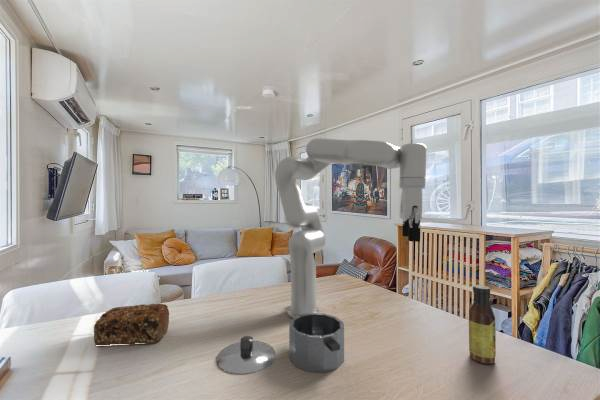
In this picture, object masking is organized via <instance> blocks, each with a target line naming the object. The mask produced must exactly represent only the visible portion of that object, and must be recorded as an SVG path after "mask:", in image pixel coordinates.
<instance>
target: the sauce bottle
mask: <svg viewBox="0 0 600 400" xmlns="http://www.w3.org/2000/svg"><path fill="white" fill-rule="evenodd" d="M472 291H473V303H472V304H471V306H470V307H469V310H468V351H469V356H470V358H471V359H472V360H473V361H475V362H478V363H480V364H486V365H491V364H494V363H495V362H496V355H497V354H496V352H497V350H496V348H497V347H496V346H497V345H496V338H497V337H496V336H497V335H496V334H497V333H496V332H497V331H496V316H495V313H494V311H493V308H492V305H491V302H490V298H491V297H490V294H491V288H490V287H489V286H486V285H482V284H481V285H480V284H474V285H472Z"/></svg>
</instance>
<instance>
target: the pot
mask: <svg viewBox="0 0 600 400" xmlns="http://www.w3.org/2000/svg"><path fill="white" fill-rule="evenodd" d="M288 327H289V328H288V329H289V330H288V331H289V334H288V335H289V342H288V343H289V345H288V350H289V353H288V355H289V356H288V359H289V360H290V362H291V363H292V364H293V366H294V367H296V368H297V369H300V370H303V371H304V372H307V373H318V374H319V373H320V374H323V373H327V372H331V371H334V370H338V369H339V367H340V366H341V365H342V364H344V362H345V324H344V321H343V320H341V319H340V318H338V317H337V316H335V315H331V314H327V313H323V312H322V313H321V312H320V313H309V314H303V315H298V316H297V317H295V318H291V319H290V323H289V325H288Z"/></svg>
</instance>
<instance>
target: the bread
mask: <svg viewBox="0 0 600 400" xmlns="http://www.w3.org/2000/svg"><path fill="white" fill-rule="evenodd" d="M168 307H169V306H168V305H167V304H163V303H150V304H138V305H137V304H136V305H128V306H125V305H124V306H119V307H113V308H110V309H108V310H107V311H106V312H105V313H102V314H101V316H99V319H97V320H96V321H95V324H94V325H93V339H94V345H95V346H96V345H110V344H135V343H151V344H156V343H158V342H159V340H160V339H161V340H162V339H163V337H164V336H165V335H166V333H168V329H169V322H170V311H169V310H170V309H169V308H168ZM164 334H165V335H164ZM163 335H164V336H163ZM161 340H160V341H161ZM152 342H153V343H152ZM135 345H136V344H135Z"/></svg>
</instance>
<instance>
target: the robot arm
mask: <svg viewBox="0 0 600 400" xmlns="http://www.w3.org/2000/svg"><path fill="white" fill-rule="evenodd" d="M305 152H306V155H307V157H306V158H302V157H297V156H287V157H284V158H282V160H281V161H279V163H278V165H277V166H276V167H275V171H274V181H275V185H276V188H277V192H278V194H279V197H280V202H281V205H282V210H283V214H284V218H285V221H286V223H287V225H288V226H289V227H290V228H293V229H299V228H301V230H299V231H297V232H295V233H293V234H292V235H291V236H290V238H289V239H288V250H289V251H288V253H289V259H290V306H289V307H288V308H287V309H286V314H287V316H288V317H289V318H291V319H294V318H295V317H297V316H298V315H303V314H309V313H321V309H320V308H319V307H318V306H317V266H316V261H315V260H316V259H315V256H314V253H317V252H320V251H322V250H323V249H324V247H325V245H326V233H325V231H324V230H325V229H324V226H323V224H322V220H321V215H320V213H319V210H318V209H317V207H316V206H314V204H312V203H309V202H305V201H304V198H303V194H302V190H301V188H300V186H299V185H298V183H297V181H296V180H299V181H300V180H302V181H309V180H312V178H314V177H316V176H317V175H319V173H321V172H322V171H323V170H325V169H326V168H327V167H329V166H330V165H331V164H337V165H345V166H346V165H347V166H349V165H352V164H356V165H357V164H359V165H368V166H375V167H376V166H377V167H382V168H384V169H387V170H392V169H398V168H399V186H398V188H399V189H401V195H400V206H399V218H400V219H401V220H402V230H401V231H402V236H403V237H408V242H417V243H418V242H420V241H421V220H422V216H423V189H426V175H427V174H426V173H427V172H426V171H427V170H426V169H427V146H426V144H424V143H421V142H409V143H408V142H407V143H405V144H403V145H402V146H396V145H393V144H391V143H390V142H387V141H382V140H381V141H380V140H369V139H366V140H365V139H355V140H354V139H353V140H352V139H351V140H350V139H335V138H334V139H333V138H323V137H317V138H312V139H311V140H310V141H309V142H307V144H306V148H305Z"/></svg>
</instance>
